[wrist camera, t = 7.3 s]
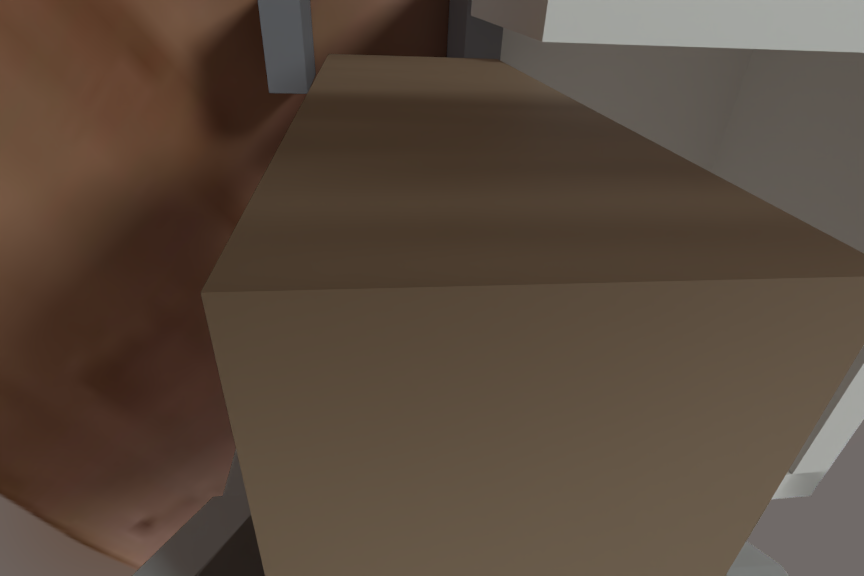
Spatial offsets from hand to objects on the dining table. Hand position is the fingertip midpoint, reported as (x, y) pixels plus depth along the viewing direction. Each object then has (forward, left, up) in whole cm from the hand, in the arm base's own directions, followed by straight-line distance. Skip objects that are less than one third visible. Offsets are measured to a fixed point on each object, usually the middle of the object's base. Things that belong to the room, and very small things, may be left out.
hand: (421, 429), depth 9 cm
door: (0, 0, -3) cm, 3 cm away
